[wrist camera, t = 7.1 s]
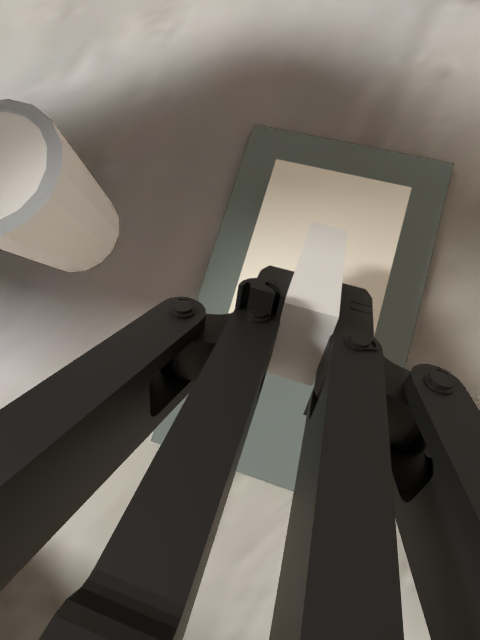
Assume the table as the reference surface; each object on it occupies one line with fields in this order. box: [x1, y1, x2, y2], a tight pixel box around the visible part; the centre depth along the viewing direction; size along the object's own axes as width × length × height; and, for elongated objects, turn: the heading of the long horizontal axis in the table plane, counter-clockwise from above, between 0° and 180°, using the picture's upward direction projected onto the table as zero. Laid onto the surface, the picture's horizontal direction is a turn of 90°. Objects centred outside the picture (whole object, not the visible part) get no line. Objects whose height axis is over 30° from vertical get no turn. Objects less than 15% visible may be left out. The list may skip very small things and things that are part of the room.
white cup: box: [0, 99, 119, 272], centre depth 19 cm, size 7×7×7 cm
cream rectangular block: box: [228, 159, 412, 335], centre depth 18 cm, size 3×7×10 cm
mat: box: [151, 124, 454, 491], centre depth 19 cm, size 20×12×1 cm, turn 163°
